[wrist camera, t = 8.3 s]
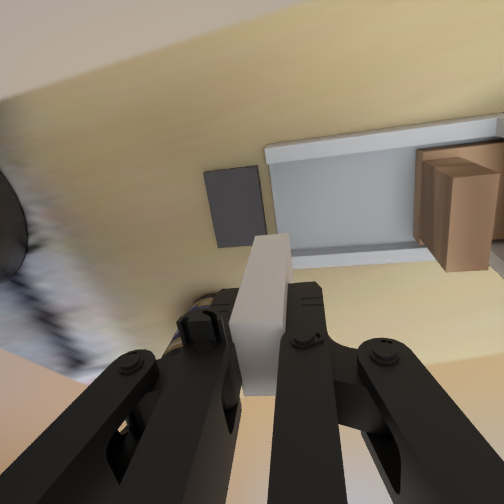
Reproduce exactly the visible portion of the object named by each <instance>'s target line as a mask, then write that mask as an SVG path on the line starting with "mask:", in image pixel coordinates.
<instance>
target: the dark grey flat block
mask: <svg viewBox="0 0 504 504" xmlns="http://www.w3.org/2000/svg"><path fill="white" fill-rule="evenodd" d="M203 174H204V179H205V184H206V189H207V195H208V200H209V205H210V210H211V215H212V220H213V225H214V230H215V235H216V240H217V245H218V248H224V247H237V246H250V245H253V242H254V238H255V236H260V235H267V230H266V223H265V215H264V208H263V201H262V193H261V186H260V179H259V171H258V165H255V166H247V167H239V168H231V169H223V170H215V171H207V172H204V173H203Z"/></svg>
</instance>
